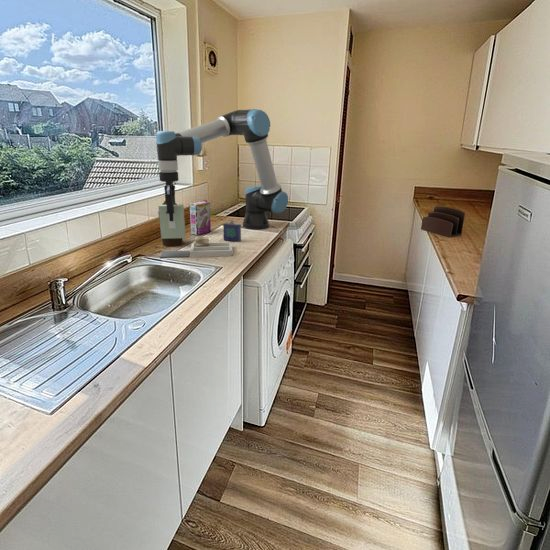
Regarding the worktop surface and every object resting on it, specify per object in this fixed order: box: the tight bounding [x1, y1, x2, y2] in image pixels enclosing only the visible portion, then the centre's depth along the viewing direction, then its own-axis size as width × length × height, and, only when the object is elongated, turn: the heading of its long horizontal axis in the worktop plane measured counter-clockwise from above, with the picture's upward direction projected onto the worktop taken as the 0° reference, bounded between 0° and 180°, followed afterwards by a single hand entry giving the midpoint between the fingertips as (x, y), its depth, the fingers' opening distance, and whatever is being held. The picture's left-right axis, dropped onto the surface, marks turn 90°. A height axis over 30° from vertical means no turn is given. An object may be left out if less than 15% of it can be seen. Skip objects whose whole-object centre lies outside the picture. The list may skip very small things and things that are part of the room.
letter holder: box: [420, 205, 466, 238], centre depth 211 cm, size 10×20×14 cm, turn 31°
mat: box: [159, 250, 190, 259], centre depth 166 cm, size 12×8×1 cm, turn 98°
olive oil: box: [158, 195, 184, 247], centre depth 177 cm, size 11×11×25 cm
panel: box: [158, 204, 186, 240], centre depth 160 cm, size 10×3×14 cm, turn 98°
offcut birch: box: [194, 236, 210, 246], centre depth 172 cm, size 6×4×3 cm
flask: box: [222, 219, 242, 243], centre depth 187 cm, size 9×3×11 cm, turn 75°
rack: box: [189, 241, 233, 258], centre depth 171 cm, size 18×14×2 cm
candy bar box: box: [189, 201, 211, 236], centre depth 199 cm, size 11×5×16 cm, turn 149°
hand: (172, 227), depth 161 cm, fingers closed on panel, 3 cm apart
